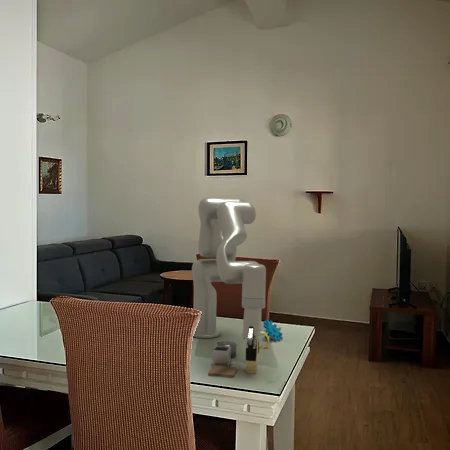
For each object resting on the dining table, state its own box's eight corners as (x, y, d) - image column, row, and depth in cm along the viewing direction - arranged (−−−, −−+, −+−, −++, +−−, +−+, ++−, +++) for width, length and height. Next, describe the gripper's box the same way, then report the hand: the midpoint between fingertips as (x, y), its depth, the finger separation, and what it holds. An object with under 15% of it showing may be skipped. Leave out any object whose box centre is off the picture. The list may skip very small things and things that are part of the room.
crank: (218, 351, 178) (218, 337, 178) (237, 352, 177) (237, 339, 177) (209, 365, 162) (209, 350, 162) (230, 366, 161) (230, 351, 161)
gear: (274, 339, 191) (261, 318, 196) (264, 348, 193) (251, 327, 198) (289, 338, 199) (276, 318, 204) (279, 346, 202) (267, 326, 207)
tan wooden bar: (246, 372, 156) (247, 335, 156) (247, 369, 159) (248, 333, 159) (256, 373, 155) (257, 336, 155) (257, 370, 159) (258, 333, 158)
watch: (268, 347, 187) (270, 332, 186) (267, 349, 184) (269, 334, 184) (253, 345, 188) (255, 330, 188) (252, 347, 185) (253, 331, 185)
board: (208, 375, 153) (208, 373, 153) (213, 367, 161) (213, 365, 160) (233, 377, 151) (233, 375, 151) (237, 369, 159) (237, 367, 159)
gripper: (245, 297, 166) (244, 348, 166) (238, 306, 149) (236, 364, 149) (267, 298, 165) (266, 350, 165) (262, 308, 147) (261, 366, 148)
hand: (252, 356), depth 157 cm, fingers open, 7 cm apart
